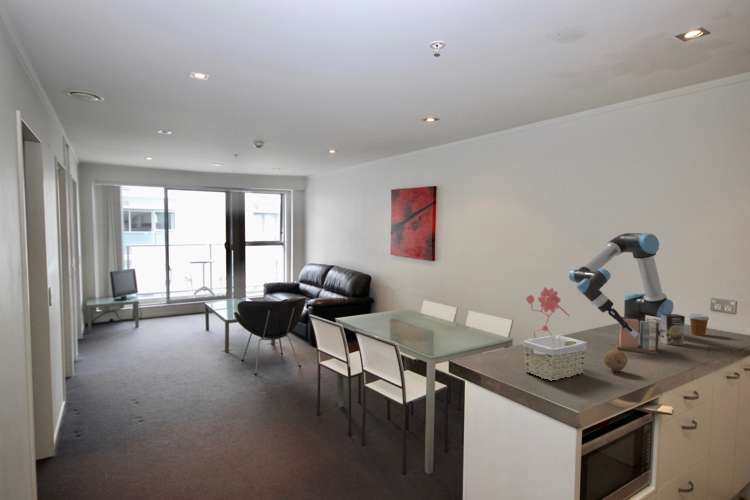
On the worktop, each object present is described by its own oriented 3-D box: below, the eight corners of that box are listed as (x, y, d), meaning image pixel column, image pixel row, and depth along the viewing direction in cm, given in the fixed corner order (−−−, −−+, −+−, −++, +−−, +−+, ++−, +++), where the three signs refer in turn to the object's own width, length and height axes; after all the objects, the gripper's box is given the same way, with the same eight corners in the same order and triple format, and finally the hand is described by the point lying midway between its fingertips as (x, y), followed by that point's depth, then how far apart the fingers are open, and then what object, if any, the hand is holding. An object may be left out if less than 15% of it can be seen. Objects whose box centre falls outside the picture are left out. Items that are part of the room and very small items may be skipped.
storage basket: (556, 364, 193) (557, 333, 192) (588, 374, 179) (589, 341, 178) (520, 372, 182) (521, 340, 181) (552, 384, 167) (552, 349, 167)
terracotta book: (619, 343, 223) (619, 318, 222) (636, 345, 220) (637, 319, 219) (620, 345, 218) (621, 320, 218) (638, 347, 215) (638, 321, 215)
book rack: (614, 344, 227) (614, 314, 226) (652, 347, 220) (653, 317, 219) (617, 350, 216) (618, 319, 215) (657, 354, 209) (658, 322, 208)
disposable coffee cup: (685, 333, 250) (685, 314, 249) (694, 332, 254) (694, 313, 253) (702, 337, 241) (703, 317, 241) (711, 335, 245) (712, 315, 245)
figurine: (560, 366, 189) (562, 291, 188) (518, 352, 212) (519, 285, 211) (582, 362, 196) (584, 289, 194) (539, 348, 219) (540, 283, 218)
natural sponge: (621, 376, 176) (621, 354, 176) (599, 371, 183) (600, 349, 183) (630, 372, 182) (630, 350, 181) (609, 367, 189) (609, 345, 188)
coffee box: (666, 344, 226) (667, 315, 225) (659, 341, 233) (660, 313, 232) (684, 345, 225) (685, 316, 225) (676, 342, 232) (677, 313, 231)
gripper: (594, 303, 236) (624, 331, 230) (599, 311, 213) (632, 342, 207) (605, 295, 233) (635, 323, 228) (611, 302, 210) (644, 333, 205)
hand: (634, 332), depth 218 cm, fingers open, 13 cm apart
